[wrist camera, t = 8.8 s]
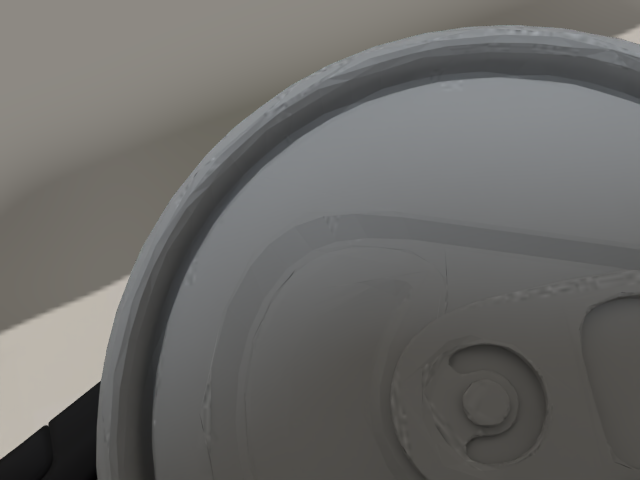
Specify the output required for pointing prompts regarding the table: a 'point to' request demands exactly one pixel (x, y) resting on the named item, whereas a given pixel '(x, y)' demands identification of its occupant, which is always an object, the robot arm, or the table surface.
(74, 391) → the table surface
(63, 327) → the table surface
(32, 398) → the table surface
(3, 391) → the table surface
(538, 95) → the beverage can
